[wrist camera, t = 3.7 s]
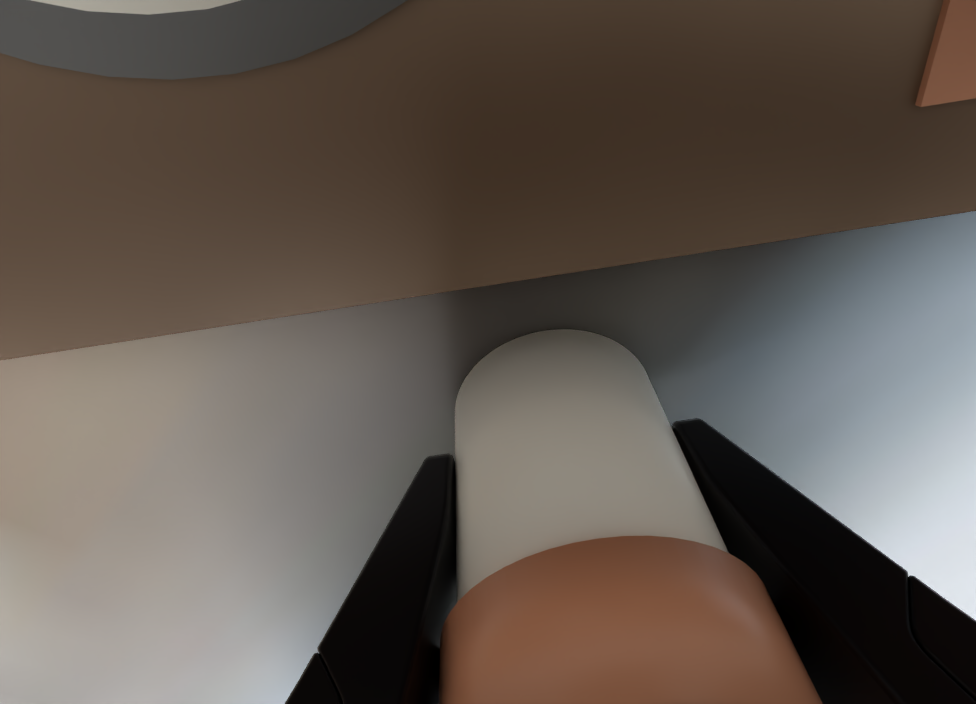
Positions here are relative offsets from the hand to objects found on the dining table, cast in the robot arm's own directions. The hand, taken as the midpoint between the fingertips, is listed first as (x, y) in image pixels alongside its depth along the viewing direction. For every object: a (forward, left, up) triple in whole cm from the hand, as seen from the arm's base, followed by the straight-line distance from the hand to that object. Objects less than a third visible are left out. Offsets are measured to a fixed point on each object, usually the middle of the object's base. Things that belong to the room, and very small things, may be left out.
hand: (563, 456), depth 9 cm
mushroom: (0, 0, -1) cm, 1 cm away
